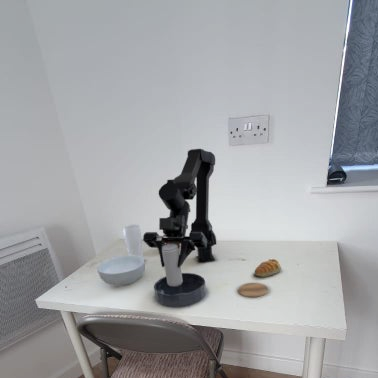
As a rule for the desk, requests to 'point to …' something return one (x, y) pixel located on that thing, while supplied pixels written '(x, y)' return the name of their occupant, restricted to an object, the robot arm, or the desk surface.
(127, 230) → the drinking glass
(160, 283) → the pan
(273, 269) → the pastry
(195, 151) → the robot arm
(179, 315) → the desk surface
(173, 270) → the beverage can
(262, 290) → the coaster
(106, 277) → the cereal bowl
